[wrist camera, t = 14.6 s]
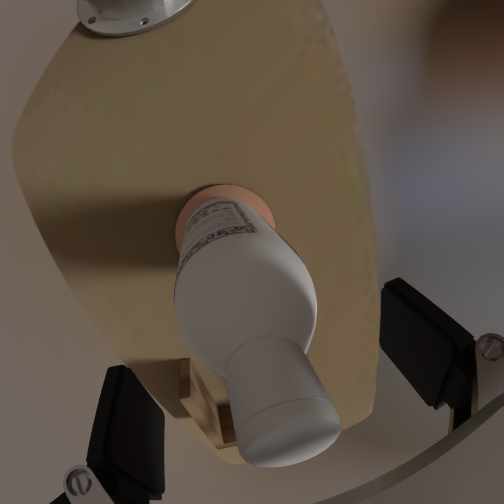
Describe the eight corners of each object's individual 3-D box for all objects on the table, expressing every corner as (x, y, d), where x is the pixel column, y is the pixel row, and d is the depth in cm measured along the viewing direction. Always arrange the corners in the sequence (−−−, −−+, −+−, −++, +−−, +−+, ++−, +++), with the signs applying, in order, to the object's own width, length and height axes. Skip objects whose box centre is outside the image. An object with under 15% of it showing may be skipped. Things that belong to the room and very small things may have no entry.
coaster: (162, 201, 23) (161, 202, 23) (261, 172, 24) (262, 172, 23) (193, 290, 26) (194, 293, 26) (282, 263, 27) (284, 265, 27)
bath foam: (171, 251, 24) (133, 474, 6) (207, 182, 23) (244, 307, 4) (238, 282, 26) (309, 489, 8) (276, 219, 25) (439, 374, 6)
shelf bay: (180, 360, 29) (179, 399, 23) (285, 330, 30) (302, 365, 24) (213, 415, 33) (217, 449, 28) (299, 391, 34) (313, 423, 29)
